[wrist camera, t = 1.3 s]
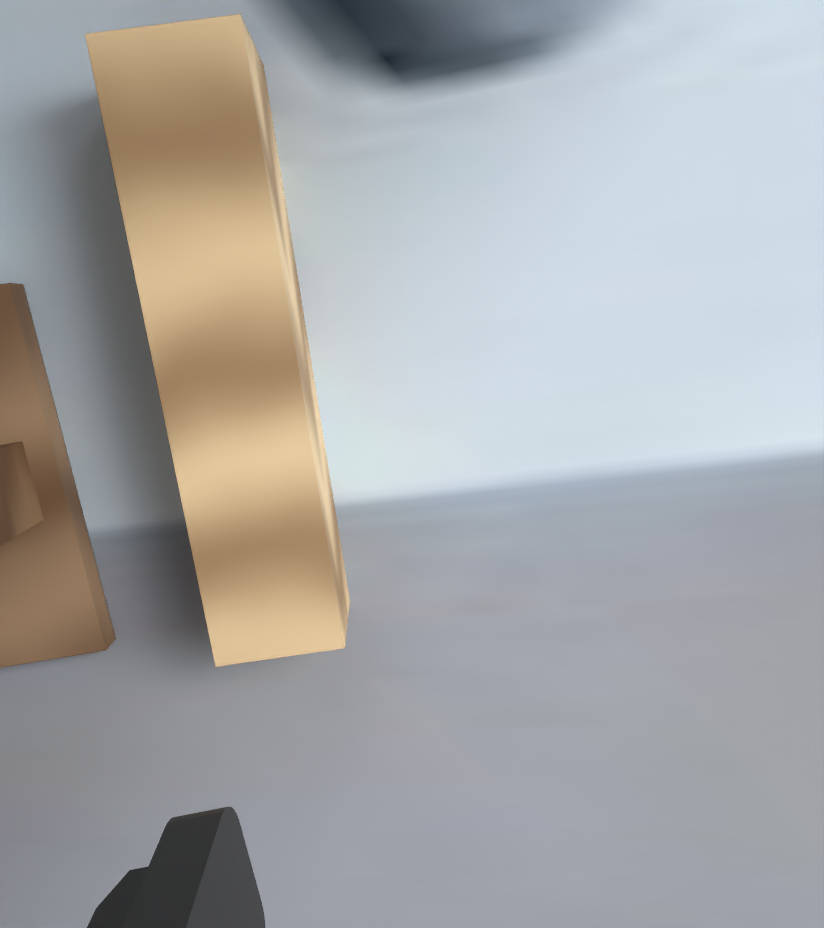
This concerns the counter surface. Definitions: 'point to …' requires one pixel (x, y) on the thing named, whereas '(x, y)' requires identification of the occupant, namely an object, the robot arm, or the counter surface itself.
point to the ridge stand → (40, 513)
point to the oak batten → (225, 330)
